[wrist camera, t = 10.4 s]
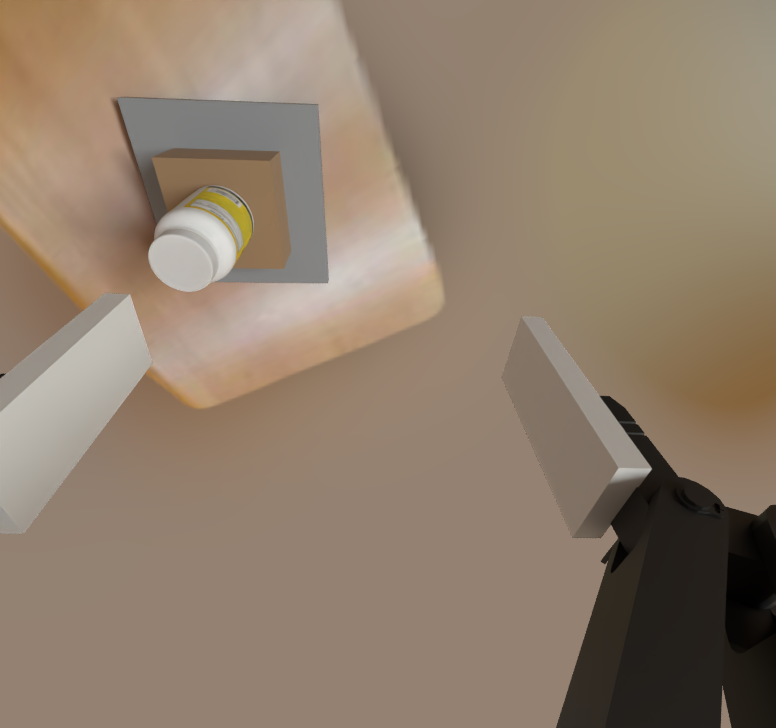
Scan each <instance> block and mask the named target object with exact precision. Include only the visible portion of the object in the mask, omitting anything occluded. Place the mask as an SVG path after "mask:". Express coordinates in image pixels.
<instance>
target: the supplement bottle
mask: <svg viewBox="0 0 776 728" xmlns="http://www.w3.org/2000/svg"><path fill="white" fill-rule="evenodd" d="M253 230H254V220H253V216H252V213H251V210H250V208H249V206H248V205H247V203H246V202H245V201H244V200H243V198H241V197H240V196H239V195H238V194H237V193H236V192H234V191H232V190H230V189H228V188H226V187H223V186H218V185H209V186H204V187H202V188H199V189H198V190H196V191H194V192H193V193H192V194H191V195H189V196H188V197H187V198H186V199H184V200H183V201H182V202H180V203H179V204H178V205H177V206H175V207H174V208H173V209H172V210H170V211H169V212H168V213H166V214H165V215H164V216H163V217H162V218H161V219H160V221H159V222H158V224H157V226H156V228H155V233H154V241H153V242H152V244H151V246H150V248H149V252H148V260H149V263H150V266H151V268H152V270H153V272H154V273H155V275H156V276H157V277H158V278H159V279H160V280H161V281H162V282H163V283H165V284H166V285H168V286H170V287H172V288H174V289H176V290H179V291H184V292H195V291H199V290H201V289H203V288H205V287H206V286H207V285H208V284H209V283H212V282H215V281H218V280H220V279H222V278H224V277H225V276H226V275H227V274H228V273H229V272H230V271H231V270H232V268H233V267H234V265H235V263H236V262H237V260H238V258H239V257H240V255H241V254H242V252H243V250H244V249H245V247H246V245H247V244H248V242H249V241H250V239H251V237H252V234H253Z"/></svg>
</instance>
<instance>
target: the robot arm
mask: <svg viewBox="0 0 776 728" xmlns="http://www.w3.org/2000/svg"><path fill="white" fill-rule="evenodd" d="M151 364H152V360H151V357H150V354H149V351H148V348H147V345H146V342H145V339H144V336H143V333H142V330H141V327H140V323H139V320H138V317H137V314H136V311H135V308H134V305H133V302H132V299H131V296H130V294H115V293H104V294H103V295H102V296H101V297H99V298H98V299H97V300H96V301H94V302H93V303H92V304H91V305H90V306H88V307H87V308H86V309H85V310H83V311H82V312H81V313H80V314H79V315H77V316H76V317H75V318H74V319H73V320H71V321H70V322H69V323H68V324H66V325H65V326H64V327H63V328H61V329H60V330H59V331H58V332H57V333H55V334H54V335H53V336H52V337H50V338H49V339H48V340H47V341H46V342H44V343H43V344H42V345H41V346H39V347H38V348H37V349H36V350H35V351H33V352H32V353H31V354H30V355H28V356H27V357H26V358H25V359H24V360H23V361H21V362H20V363H19V364H17V365H16V366H15V367H14V368H13V369H11V370H10V371H9V372H8V373H6V374H0V533H9V534H12V533H13V534H16V533H17V534H19V533H20V534H23V533H25V531H26V530H27V529H28V527H29V526H30V525H31V523H32V522H33V521H34V519H35V518H36V517H37V515H38V514H39V513H40V511H41V510H42V509H43V507H44V506H45V504H46V503H47V502H48V501H49V500H50V498H51V497H52V496H53V494H54V493H55V492H56V490H57V489H58V487H59V486H60V485H61V484H62V482H63V481H64V479H65V478H66V477H67V476H68V474H69V473H70V472H71V470H72V469H73V468H74V466H75V465H76V464H77V462H78V461H79V460H80V458H81V457H82V456H83V455H84V453H85V452H86V450H87V449H88V448H89V447H90V445H91V444H92V443H93V441H94V440H95V439H96V437H97V436H98V435H99V433H100V432H101V431H102V429H103V428H104V427H105V425H106V424H107V423H108V421H109V420H110V419H111V417H112V416H113V415H114V413H115V412H116V411H117V409H118V408H119V407H120V405H121V404H122V403H123V401H124V400H125V399H126V398H127V396H128V395H129V394H130V392H131V391H132V390H133V388H134V387H135V385H136V384H137V383H138V382H139V380H140V379H141V377H142V376H143V375H144V374H145V372H146V371H147V370H148V368H149V367H150V366H151ZM502 380H503V382H504V384H505V387H506V389H507V391H508V393H509V396H510V398H511V400H512V402H513V405H514V407H515V409H516V411H517V414H518V416H519V418H520V421H521V423H522V425H523V427H524V430H525V432H526V434H527V436H528V439H529V441H530V443H531V445H532V447H533V450H534V452H535V454H536V457H537V459H538V461H539V463H540V466H541V468H542V470H543V472H544V475H545V477H546V479H547V481H548V483H549V486H550V488H551V490H552V493H553V495H554V497H555V499H556V502H557V504H558V506H559V508H560V510H561V513H562V515H563V517H564V520H565V522H566V524H567V527H568V529H569V531H570V533H571V535H572V538H601V537H602V536H603V535H604V533H605V532H606V531H607V529H608V528H609V526H610V525H612V527H613V529H614V531H615V532H616V534H617V536H618V540H617V541H616V542H615V543H614V545H613V546H612V547H611V548H610V550H609V551H608V552H607V553H606V555H605V556H604V557H603V559H602V560H601V562H602V563H604V564H606V562H607V561H608V563H607V567H606V570H605V573H604V576H603V579H602V582H601V586H600V589H599V592H598V595H597V598H596V602H595V605H594V608H593V611H592V615H591V618H590V621H589V624H588V628H587V631H586V634H585V637H584V640H583V643H582V647H581V650H580V653H579V656H578V660H577V663H576V666H575V669H574V672H573V675H572V679H571V682H570V685H569V688H568V691H567V695H566V698H565V702H564V704H563V707H562V711H561V714H560V717H559V720H558V723H557V727H556V728H720V726H721V704H722V703H721V702H722V685H723V690H724V694H725V699H726V703H727V708H728V713H729V718H730V722H731V727H732V728H776V505H770V506H769V507H768V508H767V509H766V510H765V511H764V512H763V513H762V514H760V515H759V516H757V515H754V514H750V513H747V512H743V511H739V510H736V509H732V508H729V507H725V506H724V504H723V503H722V502H721V500H720V499H719V498H718V497H717V496H716V495H714V494H713V493H712V492H711V491H710V490H708V489H707V488H705V487H704V486H702V485H700V484H699V483H697V482H694V481H691V480H689V479H686V478H682V477H678V476H677V474H676V473H675V472H674V471H673V469H672V468H671V467H670V465H669V464H668V463H667V461H666V460H665V459H664V458H663V456H662V455H661V454H660V452H659V451H658V450H657V449H656V447H655V446H654V445H653V444H652V442H651V441H650V440H649V438H648V437H647V436H644V432H643V431H642V429H641V428H640V427H639V426H638V425H637V424H636V422H635V420H634V419H633V418H632V416H631V415H630V414H629V413H628V411H627V410H626V409H625V408H624V407H623V406H622V405H620V404H619V403H618V402H616V401H615V400H614V399H612V398H611V397H610V396H599V395H598V393H597V392H596V391H595V389H594V388H593V386H592V385H591V384H590V382H589V381H588V380H587V378H586V377H585V375H584V374H583V373H582V371H581V370H580V369H579V367H578V366H577V364H576V363H575V362H574V360H573V359H572V358H571V356H570V355H569V353H568V352H567V351H566V349H565V348H564V346H563V345H562V344H561V342H560V341H559V340H558V338H557V337H556V335H555V334H554V333H553V331H552V330H551V329H550V327H549V326H548V324H547V323H546V322H545V320H544V319H543V318H542V317H525V316H522V317H521V319H520V322H519V325H518V328H517V332H516V335H515V338H514V341H513V344H512V347H511V350H510V353H509V356H508V360H507V363H506V365H505V369H504V372H503V375H502Z"/></svg>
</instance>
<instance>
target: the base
mask: <svg viewBox="0 0 776 728" xmlns="http://www.w3.org/2000/svg"><path fill="white" fill-rule="evenodd" d="M117 100H118V103H119V106H120V110H121V113H122V116H123V119H124V122H125V125H126V129H127V132H128V135H129V138H130V141H131V144H132V148H133V151H134V154H135V157H136V160H137V163H138V167H139V170H140V173H141V176H142V179H143V183H144V186H145V189H146V192H147V195H148V198H149V202H150V205H151V208H152V211H153V214H154V217H155V221H156V224H158V222H159V221H160V219H161V218H162V217H163V216H164V215H165V214H166V213H168V212H169V211H170V210H172V209H173V208H174V207H175V206H177V205H178V204H179V203H180V202H182V201H183V200H184V199H186V198H187V197H188V196H189V195H191V194H192V193H193V192H194V191H196V190H198V189H199V188H202V187H204V186H209V185H218V186H223V187H226V188H228V189H230V190H232V191H234V192H236V193H237V194H238V195H239V196H240V197H241V198H243V200H244V201H245V202H246V203H247V205H248V206H249V208H250V210H251V213H252V216H253V220H254V230H253V234H252V237H251V239H250V241H249V242H248V244H247V245H246V247H245V249H244V250H243V252H242V254H241V255H240V257H239V258H238V260H237V262H236V263H235V265H234V267H233V268H232V270H231V271H230V272H229V273H228V274H227V275H226V276H225V277H224V278H222V279H220V280H218V281H215V282H269V283H328V280H329V276H328V260H327V243H326V226H325V210H324V193H323V177H322V160H321V144H320V127H319V110H318V104H296V103H270V102H244V101H217V100H191V99H165V98H139V97H118V98H117Z"/></svg>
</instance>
